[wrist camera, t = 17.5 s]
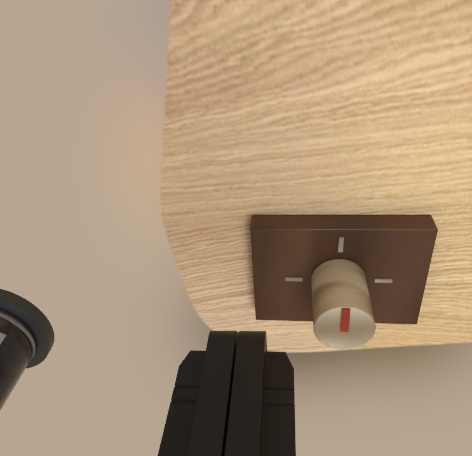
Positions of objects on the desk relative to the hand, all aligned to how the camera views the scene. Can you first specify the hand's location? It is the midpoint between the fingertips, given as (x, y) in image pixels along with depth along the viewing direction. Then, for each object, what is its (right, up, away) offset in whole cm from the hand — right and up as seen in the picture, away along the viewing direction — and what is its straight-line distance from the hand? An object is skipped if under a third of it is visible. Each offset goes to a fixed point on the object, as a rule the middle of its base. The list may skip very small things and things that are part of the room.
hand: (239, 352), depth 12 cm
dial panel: (+9, 0, +27) cm, 28 cm away
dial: (+8, -1, +25) cm, 26 cm away
